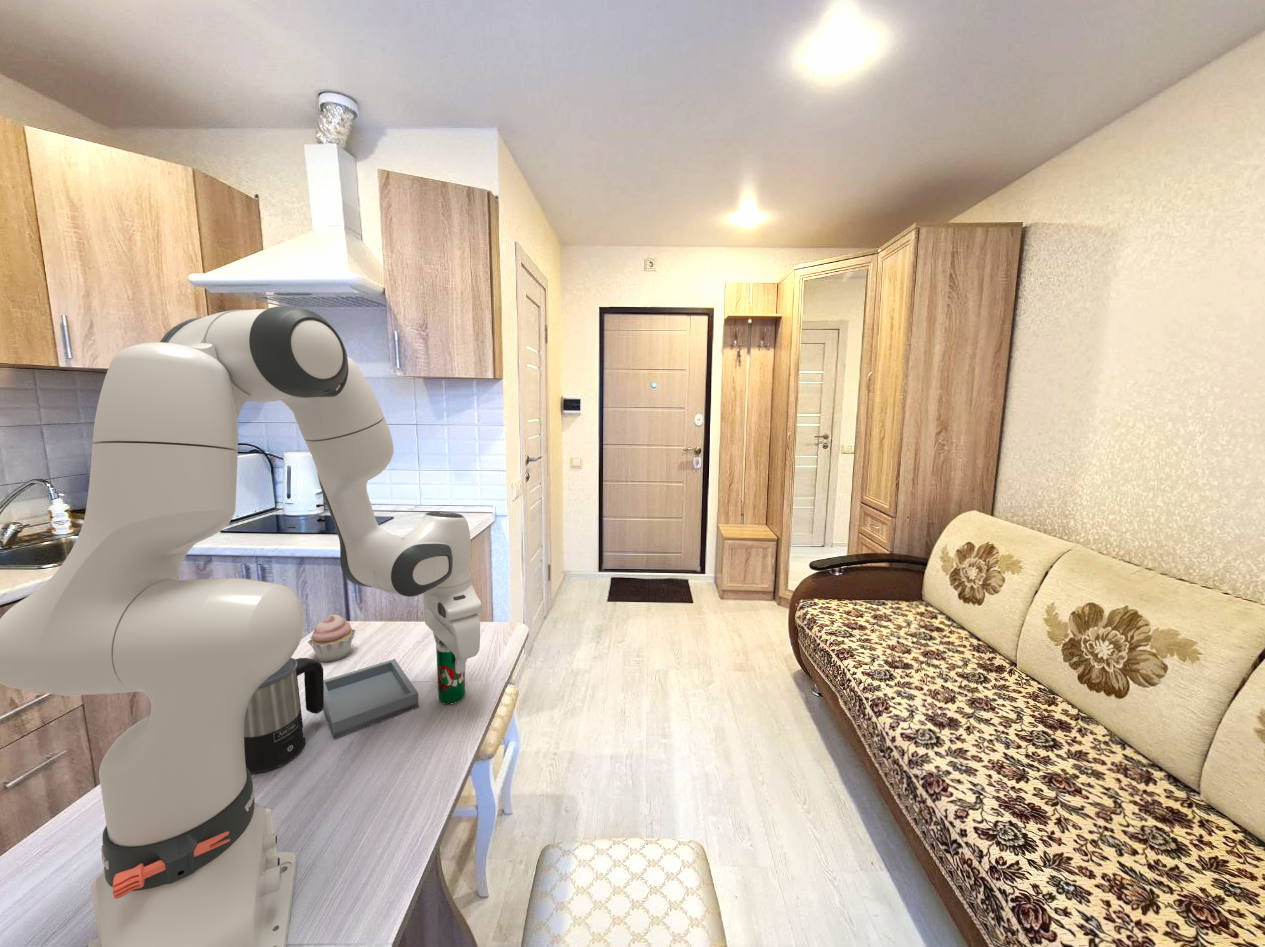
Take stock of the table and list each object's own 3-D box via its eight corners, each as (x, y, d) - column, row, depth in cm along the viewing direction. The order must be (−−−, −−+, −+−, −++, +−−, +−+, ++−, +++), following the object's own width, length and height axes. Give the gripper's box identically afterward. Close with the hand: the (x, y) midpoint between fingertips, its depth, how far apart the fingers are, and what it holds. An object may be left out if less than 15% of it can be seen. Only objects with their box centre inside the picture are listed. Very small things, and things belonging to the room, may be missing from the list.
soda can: (458, 687, 98) (456, 632, 96) (470, 698, 94) (468, 641, 93) (434, 697, 94) (431, 640, 93) (444, 709, 91) (442, 650, 89)
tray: (418, 707, 91) (418, 692, 91) (333, 739, 82) (332, 723, 82) (395, 671, 103) (394, 658, 103) (319, 696, 94) (318, 682, 94)
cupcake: (300, 667, 104) (297, 624, 103) (321, 646, 113) (318, 606, 112) (347, 665, 106) (344, 622, 104) (363, 644, 115) (361, 604, 113)
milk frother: (277, 777, 74) (269, 688, 72) (177, 774, 74) (166, 685, 72) (335, 717, 88) (330, 642, 86) (251, 715, 88) (243, 640, 86)
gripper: (414, 581, 97) (416, 645, 99) (450, 616, 82) (453, 690, 84) (445, 575, 101) (447, 636, 103) (485, 606, 86) (487, 677, 88)
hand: (450, 661), depth 93 cm, fingers open, 8 cm apart
